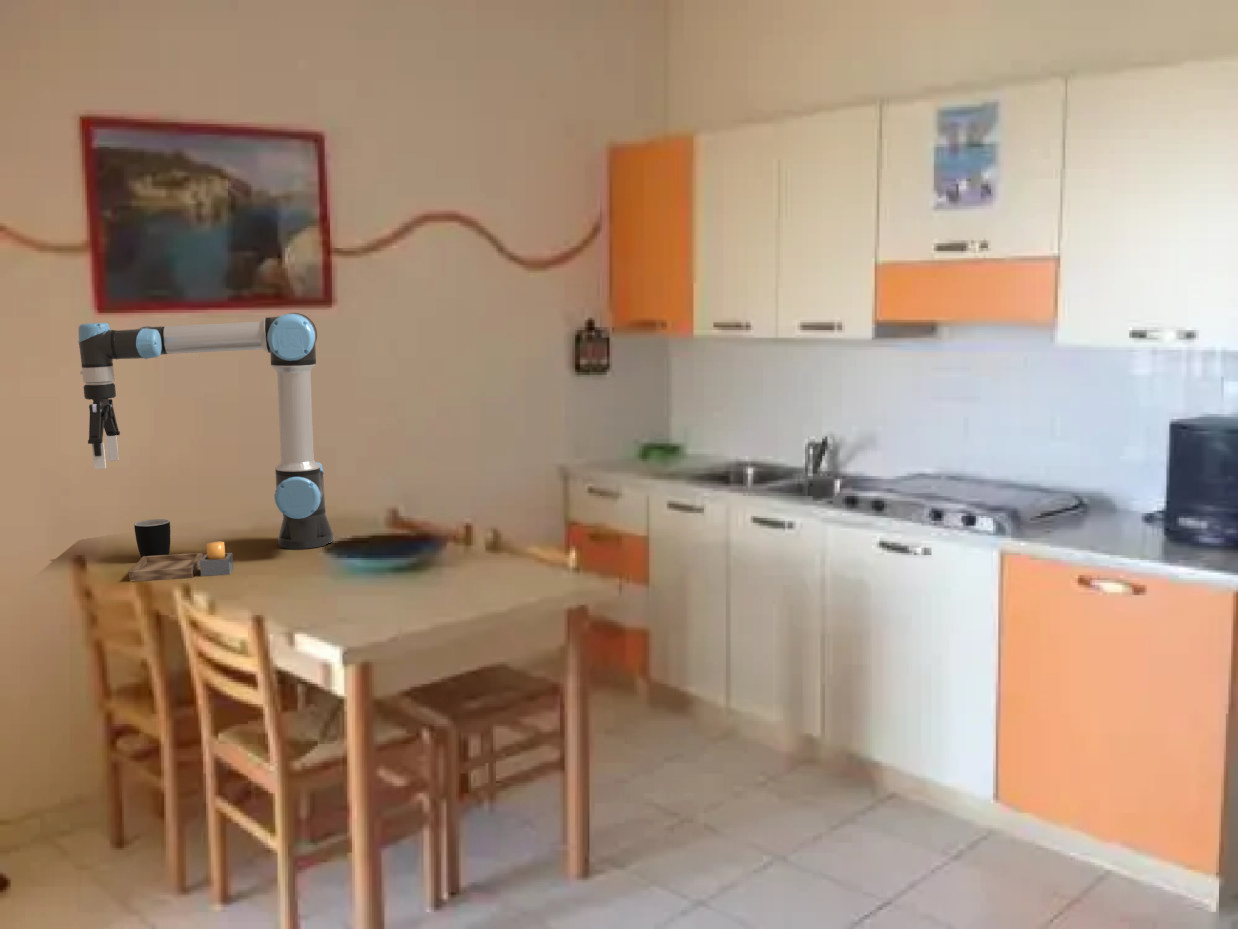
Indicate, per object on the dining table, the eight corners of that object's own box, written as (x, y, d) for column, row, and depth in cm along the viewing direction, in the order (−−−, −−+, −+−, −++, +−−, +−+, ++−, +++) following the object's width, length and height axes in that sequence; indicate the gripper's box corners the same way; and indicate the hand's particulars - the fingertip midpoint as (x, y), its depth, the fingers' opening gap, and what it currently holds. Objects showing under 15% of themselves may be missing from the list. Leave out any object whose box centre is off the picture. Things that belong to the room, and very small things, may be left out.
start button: (226, 559, 313) (225, 541, 312) (224, 563, 308) (222, 544, 307) (209, 561, 312) (207, 542, 311) (206, 565, 308) (204, 545, 307)
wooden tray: (203, 562, 322) (202, 552, 321) (192, 577, 305) (191, 568, 305) (144, 565, 319) (143, 556, 319) (129, 581, 303) (128, 571, 302)
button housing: (233, 567, 314) (232, 552, 314) (229, 574, 308) (228, 559, 307) (205, 569, 313) (204, 554, 313) (201, 576, 306) (199, 560, 306)
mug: (178, 558, 327) (175, 521, 325) (146, 564, 320) (143, 527, 319) (158, 552, 335) (155, 516, 333) (126, 558, 329) (123, 521, 327)
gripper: (96, 379, 323) (103, 457, 327) (70, 388, 299) (78, 472, 302) (125, 378, 324) (133, 456, 328) (102, 387, 300) (110, 471, 304)
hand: (107, 464), depth 315 cm, fingers open, 13 cm apart
